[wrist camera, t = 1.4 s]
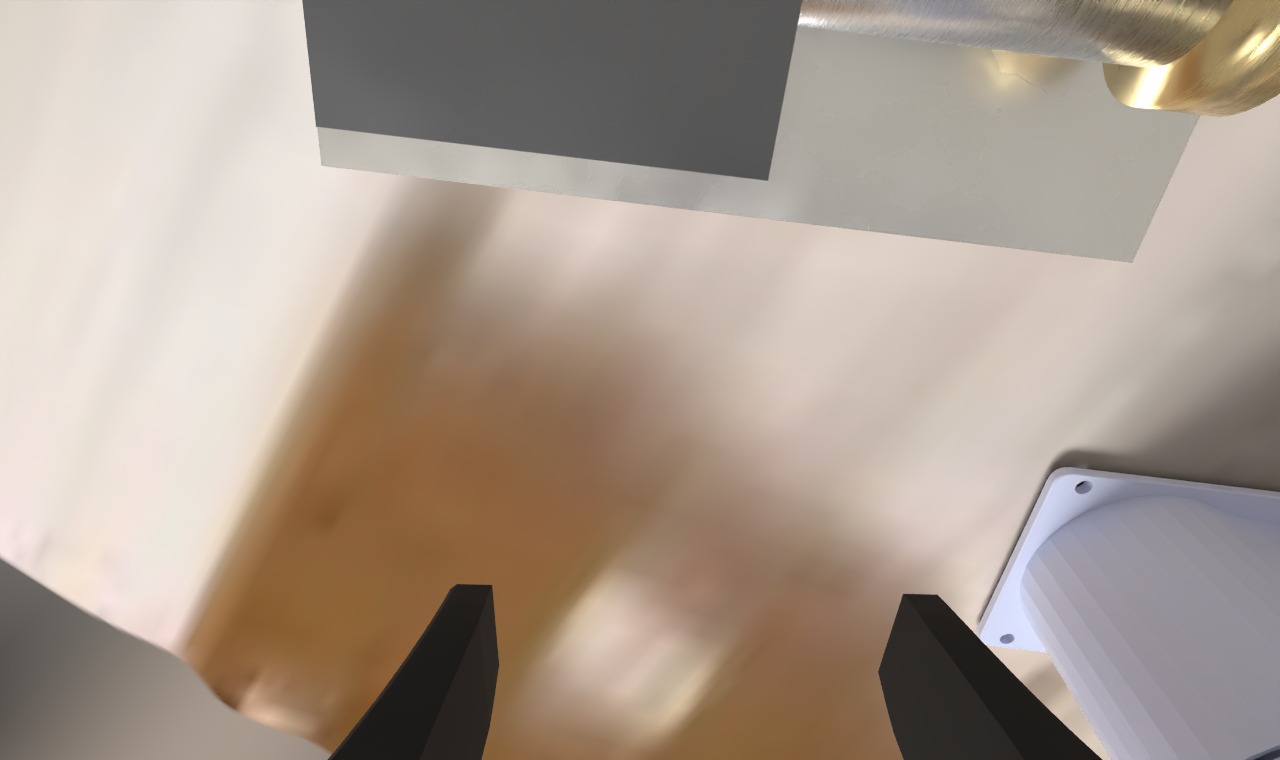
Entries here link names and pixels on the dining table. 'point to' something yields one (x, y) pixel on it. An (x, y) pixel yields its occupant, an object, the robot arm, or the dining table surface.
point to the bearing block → (741, 118)
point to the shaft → (1101, 41)
